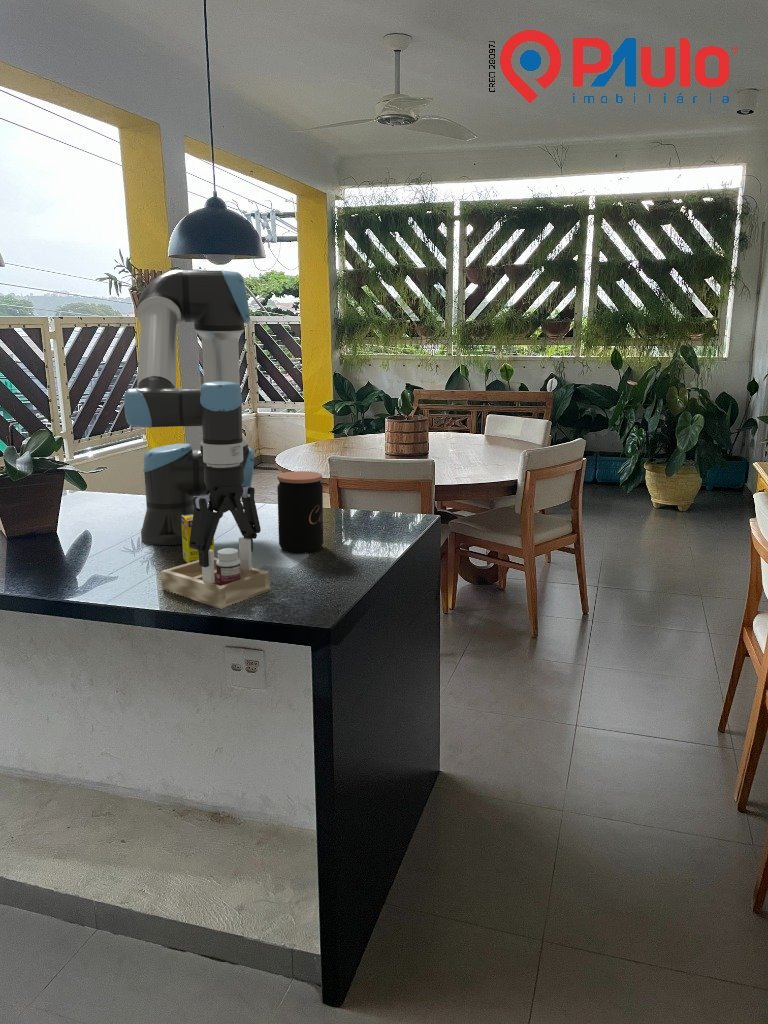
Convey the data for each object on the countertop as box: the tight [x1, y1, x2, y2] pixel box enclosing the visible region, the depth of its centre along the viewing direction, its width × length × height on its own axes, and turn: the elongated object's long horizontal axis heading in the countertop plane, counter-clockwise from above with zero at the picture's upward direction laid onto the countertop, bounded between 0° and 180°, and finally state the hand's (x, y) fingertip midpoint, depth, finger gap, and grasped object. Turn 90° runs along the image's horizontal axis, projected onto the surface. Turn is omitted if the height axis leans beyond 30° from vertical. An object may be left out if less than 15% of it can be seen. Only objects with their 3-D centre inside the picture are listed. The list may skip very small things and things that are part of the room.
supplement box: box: [181, 514, 216, 564], centre depth 171 cm, size 6×6×11 cm
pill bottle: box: [216, 547, 241, 586], centre depth 151 cm, size 5×5×8 cm
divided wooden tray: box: [160, 556, 271, 610], centre depth 154 cm, size 18×13×4 cm
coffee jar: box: [276, 470, 324, 555], centre depth 182 cm, size 11×11×18 cm
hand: (227, 575), depth 152 cm, fingers open, 9 cm apart
